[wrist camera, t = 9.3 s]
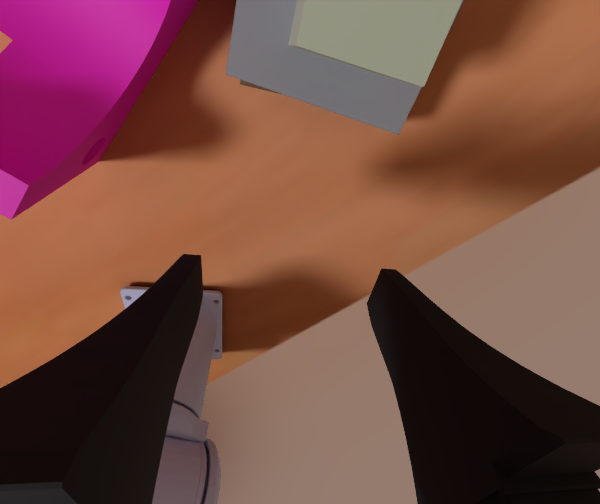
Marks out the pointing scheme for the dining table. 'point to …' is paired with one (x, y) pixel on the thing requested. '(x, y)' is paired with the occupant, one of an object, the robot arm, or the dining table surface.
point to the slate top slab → (311, 69)
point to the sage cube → (376, 34)
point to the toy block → (72, 84)
